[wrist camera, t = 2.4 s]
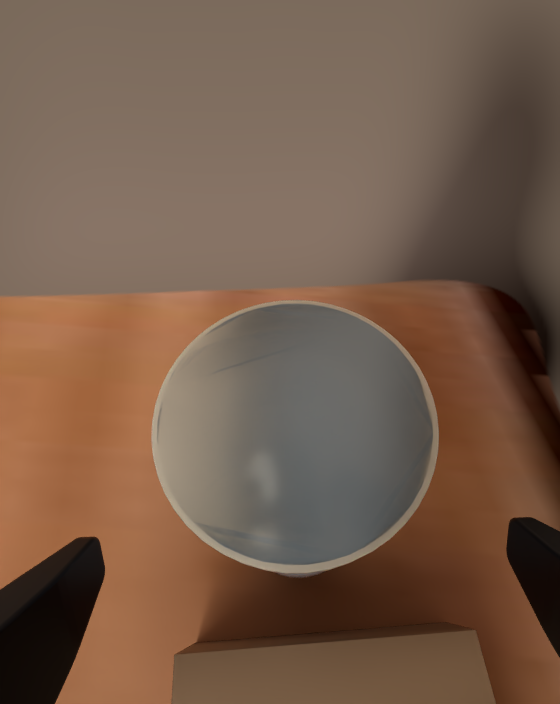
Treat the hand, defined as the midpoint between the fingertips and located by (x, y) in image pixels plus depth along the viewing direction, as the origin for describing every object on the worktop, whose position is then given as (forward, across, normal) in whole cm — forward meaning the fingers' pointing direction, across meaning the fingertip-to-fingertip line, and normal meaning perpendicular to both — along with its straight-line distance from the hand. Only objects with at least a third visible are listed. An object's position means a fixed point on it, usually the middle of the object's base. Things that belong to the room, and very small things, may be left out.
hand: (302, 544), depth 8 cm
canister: (+8, 0, +5) cm, 10 cm away
